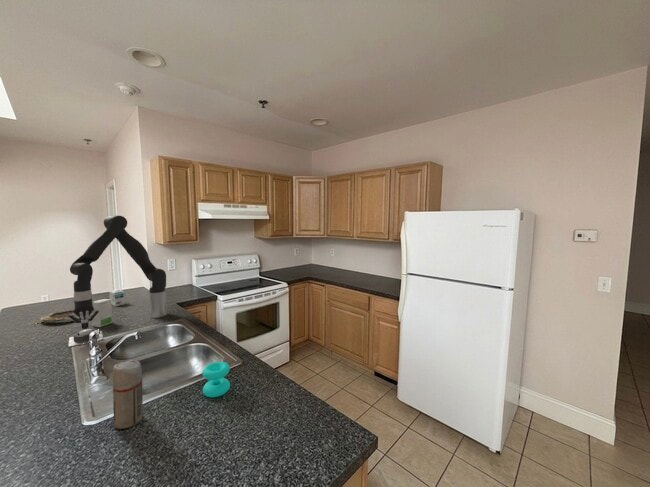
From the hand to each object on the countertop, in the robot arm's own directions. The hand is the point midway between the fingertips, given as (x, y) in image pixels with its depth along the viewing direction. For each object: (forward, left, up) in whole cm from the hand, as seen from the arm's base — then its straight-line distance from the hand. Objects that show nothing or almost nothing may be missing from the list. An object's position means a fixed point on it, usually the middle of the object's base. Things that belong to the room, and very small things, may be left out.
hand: (85, 328), depth 151 cm
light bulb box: (-19, -66, -6) cm, 69 cm away
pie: (+10, -48, -7) cm, 49 cm away
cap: (0, 0, -5) cm, 5 cm away
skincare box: (-8, -21, -6) cm, 23 cm away
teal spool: (-38, +94, -6) cm, 102 cm away
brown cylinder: (-10, +91, -6) cm, 92 cm away
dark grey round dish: (0, 0, -6) cm, 6 cm away
